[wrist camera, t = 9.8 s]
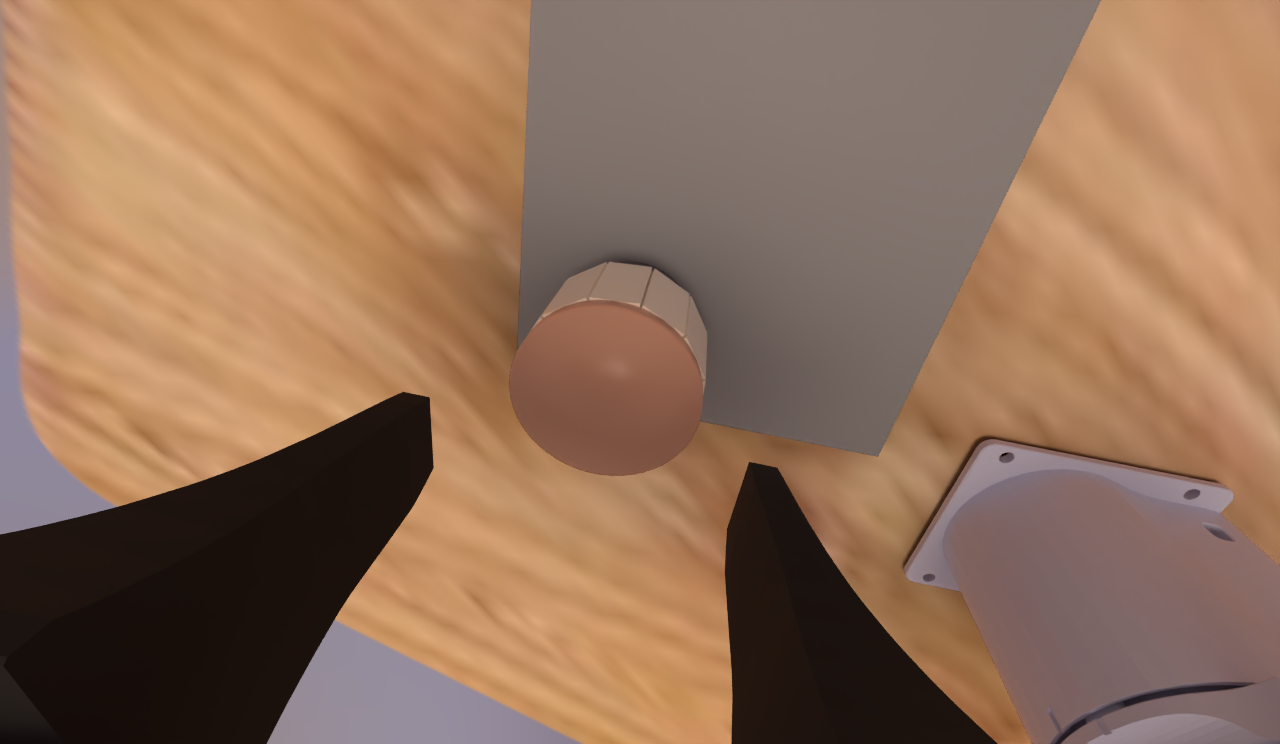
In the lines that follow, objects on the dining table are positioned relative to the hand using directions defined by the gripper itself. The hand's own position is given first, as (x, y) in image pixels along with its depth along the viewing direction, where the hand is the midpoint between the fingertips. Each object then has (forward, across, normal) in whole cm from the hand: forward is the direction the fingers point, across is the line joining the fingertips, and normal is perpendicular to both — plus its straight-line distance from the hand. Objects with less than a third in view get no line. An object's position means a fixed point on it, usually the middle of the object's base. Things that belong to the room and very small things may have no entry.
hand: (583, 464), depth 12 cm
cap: (+6, 0, 0) cm, 6 cm away
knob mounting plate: (+9, -3, -4) cm, 10 cm away
